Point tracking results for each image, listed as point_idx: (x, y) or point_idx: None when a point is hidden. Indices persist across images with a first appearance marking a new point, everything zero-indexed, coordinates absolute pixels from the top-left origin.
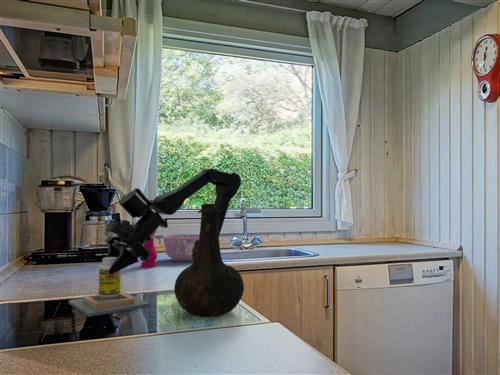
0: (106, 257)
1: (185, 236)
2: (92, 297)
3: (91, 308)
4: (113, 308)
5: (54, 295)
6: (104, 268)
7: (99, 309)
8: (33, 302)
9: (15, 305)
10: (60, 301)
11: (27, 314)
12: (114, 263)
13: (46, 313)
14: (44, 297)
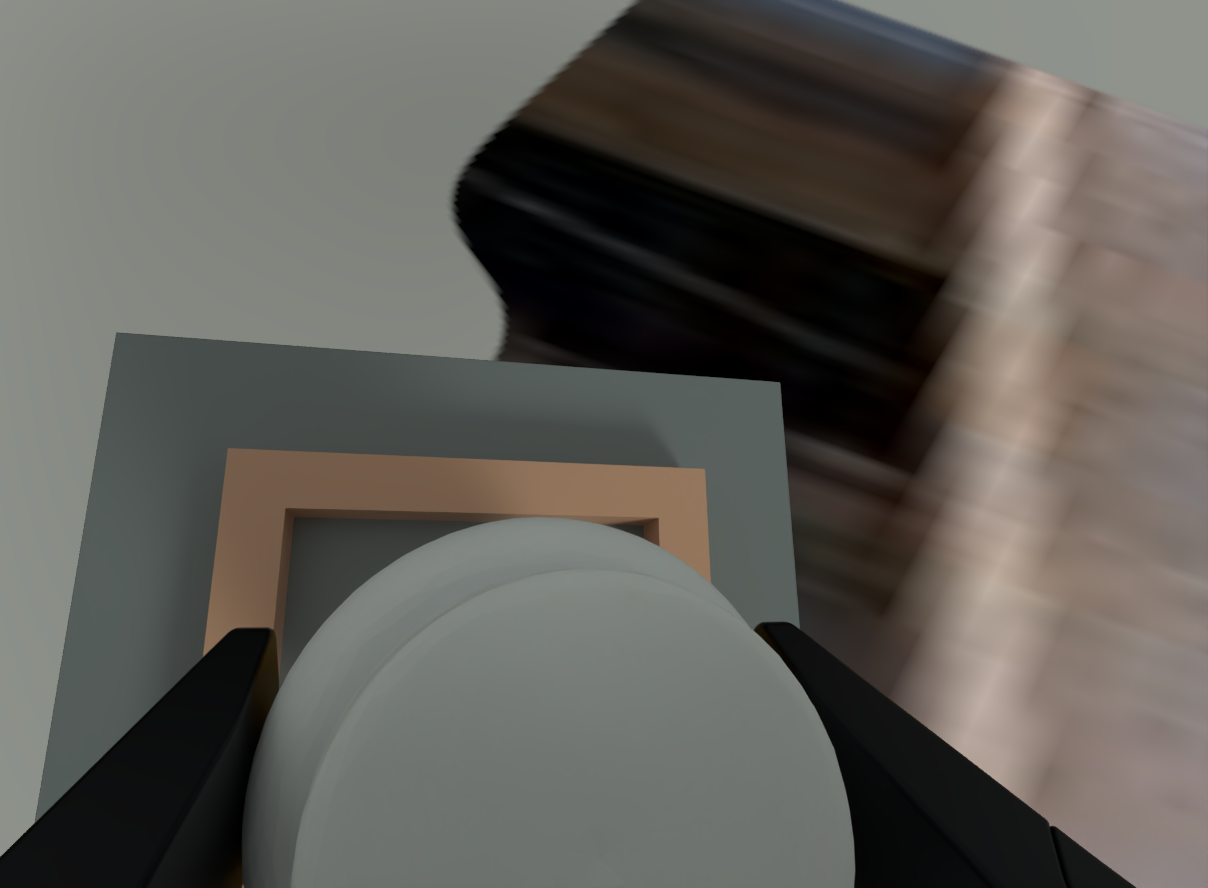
0: (783, 762)
1: None
2: None
3: (308, 435)
4: (105, 635)
5: (1108, 401)
6: (383, 570)
7: (192, 484)
8: (944, 199)
9: (913, 83)
10: (877, 365)
11: (597, 41)
12: (67, 828)
13: (535, 140)
14: (1070, 315)
